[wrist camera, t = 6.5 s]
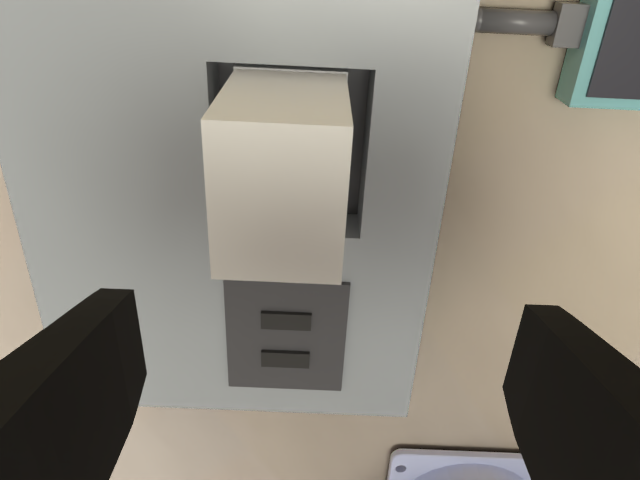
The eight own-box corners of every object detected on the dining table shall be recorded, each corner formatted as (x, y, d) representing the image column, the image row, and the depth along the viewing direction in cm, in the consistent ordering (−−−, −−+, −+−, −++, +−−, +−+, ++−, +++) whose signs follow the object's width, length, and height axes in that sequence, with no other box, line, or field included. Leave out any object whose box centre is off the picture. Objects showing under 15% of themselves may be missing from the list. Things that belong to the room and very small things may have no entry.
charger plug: (338, 181, 19) (343, 286, 13) (244, 177, 19) (209, 280, 13) (346, 60, 17) (355, 124, 11) (240, 55, 17) (198, 117, 11)
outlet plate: (401, 382, 24) (408, 424, 22) (82, 368, 24) (59, 410, 22) (478, -99, 15) (502, -104, 13) (-30, -125, 15) (-88, -134, 13)
